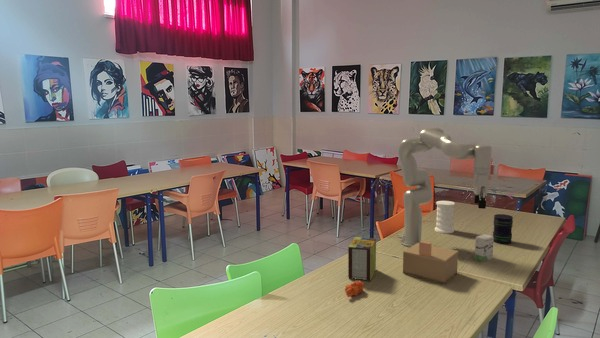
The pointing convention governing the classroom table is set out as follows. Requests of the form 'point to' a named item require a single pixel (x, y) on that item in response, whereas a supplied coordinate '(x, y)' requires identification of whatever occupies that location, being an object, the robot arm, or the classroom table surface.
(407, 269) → the carton
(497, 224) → the storage jar
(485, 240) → the ink box
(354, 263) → the protein box
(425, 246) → the lid flap
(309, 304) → the classroom table surface
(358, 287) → the orange toy bird
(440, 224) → the decorative container
